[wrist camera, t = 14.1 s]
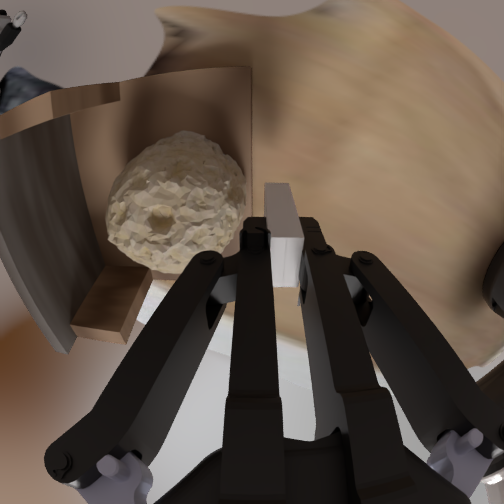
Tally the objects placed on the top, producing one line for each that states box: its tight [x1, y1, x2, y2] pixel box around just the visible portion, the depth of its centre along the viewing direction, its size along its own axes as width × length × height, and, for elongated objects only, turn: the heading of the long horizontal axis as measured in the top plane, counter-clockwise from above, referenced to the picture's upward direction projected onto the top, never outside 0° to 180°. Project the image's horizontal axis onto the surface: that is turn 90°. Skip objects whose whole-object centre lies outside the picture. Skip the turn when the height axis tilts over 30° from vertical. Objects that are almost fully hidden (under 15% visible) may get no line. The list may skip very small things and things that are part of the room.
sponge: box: [105, 130, 247, 274], centre depth 18 cm, size 9×10×10 cm
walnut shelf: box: [0, 66, 252, 354], centre depth 17 cm, size 16×18×12 cm
